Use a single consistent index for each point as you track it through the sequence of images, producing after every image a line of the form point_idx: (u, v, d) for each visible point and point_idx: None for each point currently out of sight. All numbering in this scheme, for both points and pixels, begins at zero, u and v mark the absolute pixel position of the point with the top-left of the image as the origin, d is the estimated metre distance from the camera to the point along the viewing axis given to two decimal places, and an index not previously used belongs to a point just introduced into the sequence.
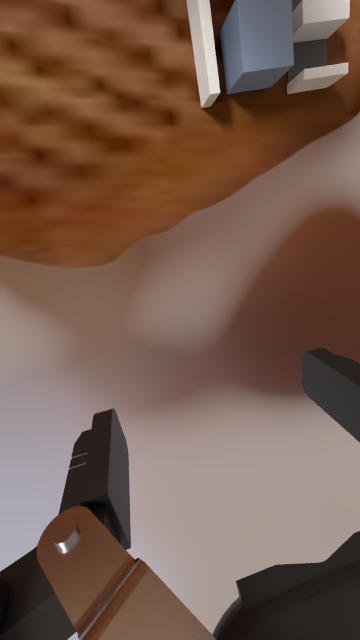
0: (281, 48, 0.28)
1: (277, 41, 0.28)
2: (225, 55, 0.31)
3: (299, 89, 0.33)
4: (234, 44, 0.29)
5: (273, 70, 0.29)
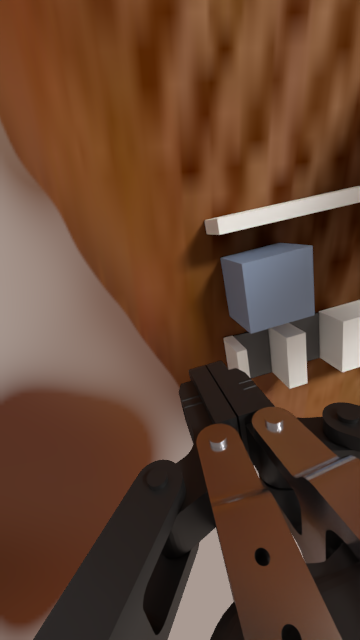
0: (266, 313, 0.22)
1: (272, 307, 0.22)
2: (258, 249, 0.24)
3: (227, 351, 0.27)
4: (269, 252, 0.22)
5: (245, 308, 0.22)
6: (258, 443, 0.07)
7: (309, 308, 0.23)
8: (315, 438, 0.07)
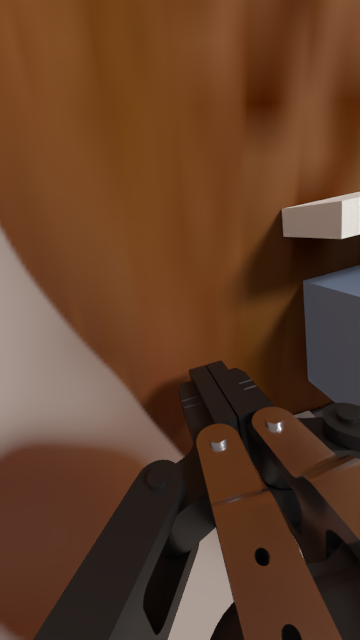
0: None
1: None
2: None
3: None
4: None
5: None
6: (258, 443, 0.07)
7: None
8: (315, 438, 0.07)
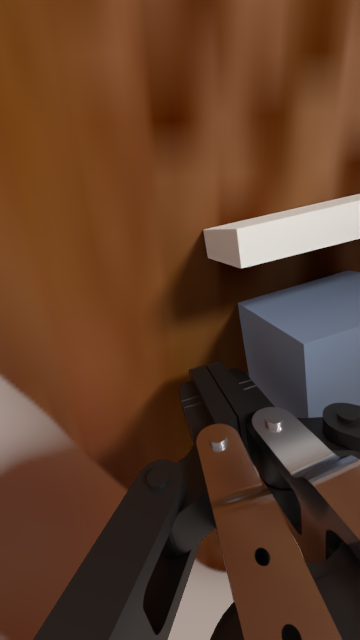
0: None
1: None
2: (314, 287, 0.12)
3: None
4: (354, 302, 0.10)
5: None
6: (258, 443, 0.07)
7: None
8: (315, 438, 0.07)
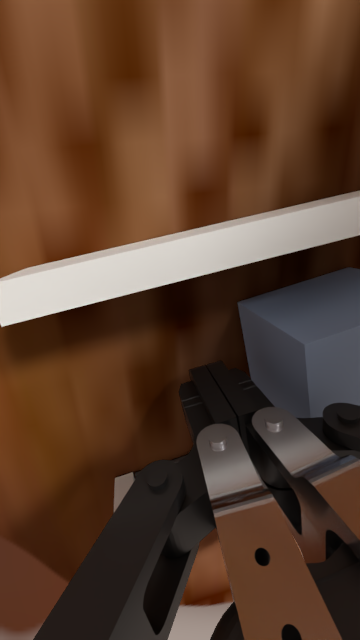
0: None
1: None
2: (315, 285, 0.12)
3: None
4: (355, 301, 0.10)
5: None
6: (258, 443, 0.07)
7: None
8: (315, 438, 0.07)
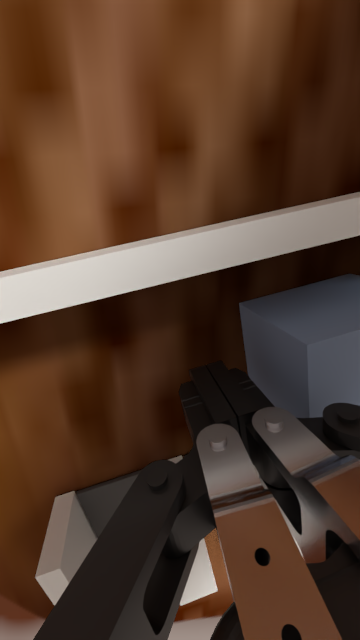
0: None
1: None
2: (316, 290, 0.12)
3: None
4: (356, 305, 0.10)
5: None
6: (258, 443, 0.07)
7: None
8: (315, 438, 0.07)
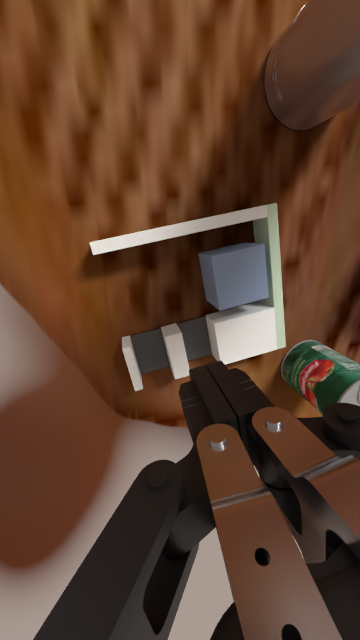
0: (231, 295, 0.29)
1: (235, 290, 0.29)
2: (227, 247, 0.31)
3: None
4: (233, 249, 0.29)
5: (215, 291, 0.29)
6: (258, 443, 0.07)
7: (264, 291, 0.30)
8: (315, 438, 0.07)
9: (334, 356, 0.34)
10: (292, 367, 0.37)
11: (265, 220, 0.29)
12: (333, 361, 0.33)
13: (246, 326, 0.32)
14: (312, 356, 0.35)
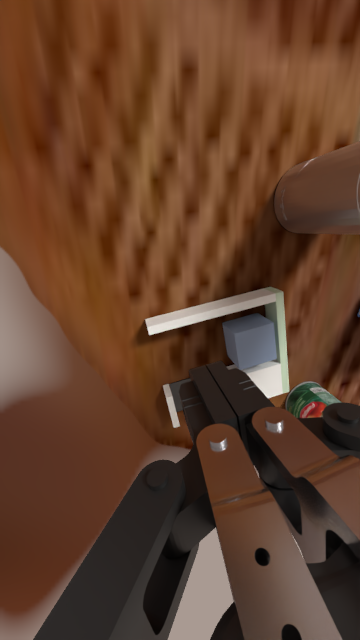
0: (248, 359, 0.39)
1: (251, 355, 0.39)
2: (244, 318, 0.41)
3: None
4: (250, 324, 0.39)
5: (236, 356, 0.39)
6: (258, 443, 0.07)
7: (273, 355, 0.39)
8: (315, 438, 0.07)
9: (327, 399, 0.44)
10: (294, 405, 0.47)
11: (274, 302, 0.39)
12: (326, 403, 0.43)
13: (259, 378, 0.42)
14: (310, 398, 0.45)
